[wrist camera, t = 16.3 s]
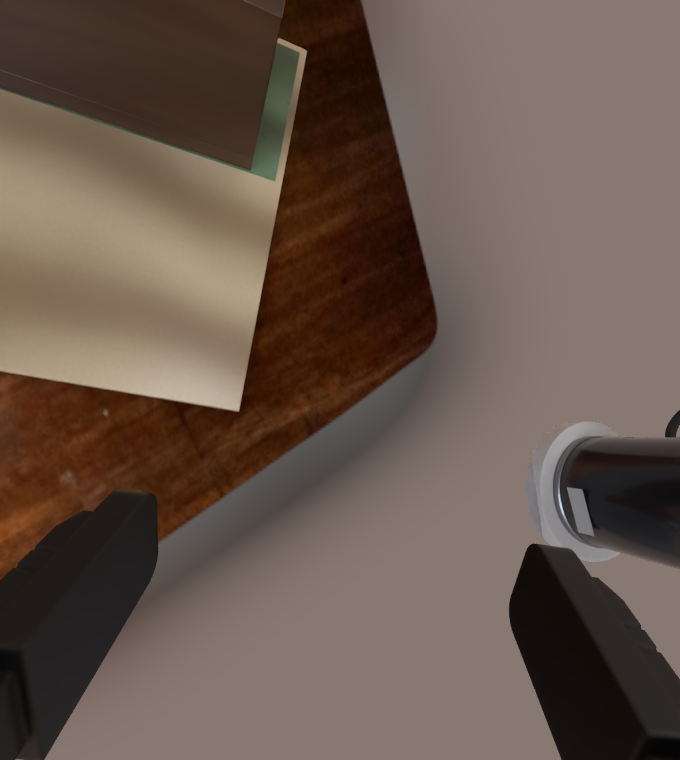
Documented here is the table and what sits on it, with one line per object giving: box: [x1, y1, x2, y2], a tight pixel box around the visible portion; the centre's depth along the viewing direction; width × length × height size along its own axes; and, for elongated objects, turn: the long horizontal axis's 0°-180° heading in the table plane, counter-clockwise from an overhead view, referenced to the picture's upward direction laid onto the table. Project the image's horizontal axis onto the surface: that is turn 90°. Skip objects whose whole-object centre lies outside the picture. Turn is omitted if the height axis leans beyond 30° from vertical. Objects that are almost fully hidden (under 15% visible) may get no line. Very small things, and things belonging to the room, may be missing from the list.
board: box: [0, 38, 307, 412], centre depth 27 cm, size 28×20×1 cm
